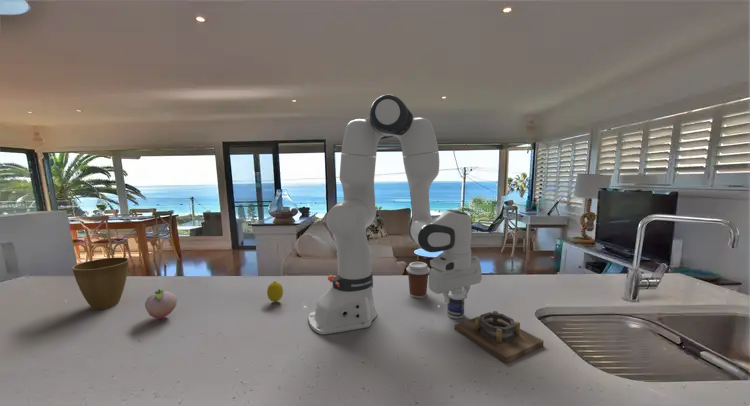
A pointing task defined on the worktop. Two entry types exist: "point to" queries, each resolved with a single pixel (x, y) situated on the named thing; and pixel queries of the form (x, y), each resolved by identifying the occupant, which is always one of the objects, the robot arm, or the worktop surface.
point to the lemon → (275, 291)
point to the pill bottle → (456, 304)
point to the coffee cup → (418, 279)
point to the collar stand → (499, 336)
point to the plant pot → (102, 281)
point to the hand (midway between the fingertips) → (455, 300)
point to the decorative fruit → (160, 304)
